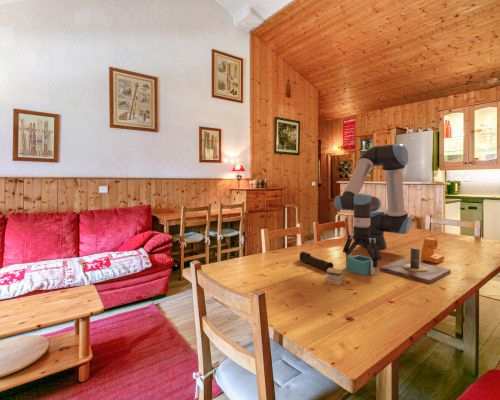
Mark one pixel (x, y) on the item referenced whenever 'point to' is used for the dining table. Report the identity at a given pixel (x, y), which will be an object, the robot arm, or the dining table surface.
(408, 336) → the dining table surface
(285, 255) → the dining table surface
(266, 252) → the dining table surface
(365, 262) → the collar
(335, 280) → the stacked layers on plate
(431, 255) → the bracket
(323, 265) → the hand tool
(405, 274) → the post base
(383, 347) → the dining table surface
